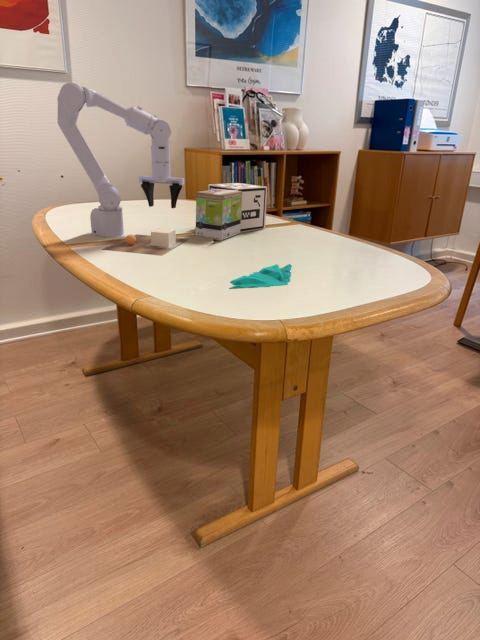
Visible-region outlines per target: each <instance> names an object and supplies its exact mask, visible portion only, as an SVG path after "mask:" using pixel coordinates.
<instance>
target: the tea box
mask: <svg viewBox="0 0 480 640" xmlns="http://www.w3.org/2000/svg"><path fill="white" fill-rule="evenodd" d="M195 198H196V199H195V200H196V201H195V233H194V234H195V236H196V237H197V236H198V237H208V238H214V239H213V241H215V242H219V241H220V242H222V241H224V240H226V239H228V238H231V237H234V236H237V235H240V234H241V232H240V226H241V208H242V191H235V190H226V189H213V190H208V189H207V190H203V191H201V190H200V191H196V196H195Z"/></svg>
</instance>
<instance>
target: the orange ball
mask: <svg viewBox="0 0 480 640" xmlns="http://www.w3.org/2000/svg"><path fill="white" fill-rule="evenodd" d="M125 239H126V243H127V244H129V245H133V244H135V243H136V237H135V236H134V235H133V234H127V235H126V237H125Z"/></svg>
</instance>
